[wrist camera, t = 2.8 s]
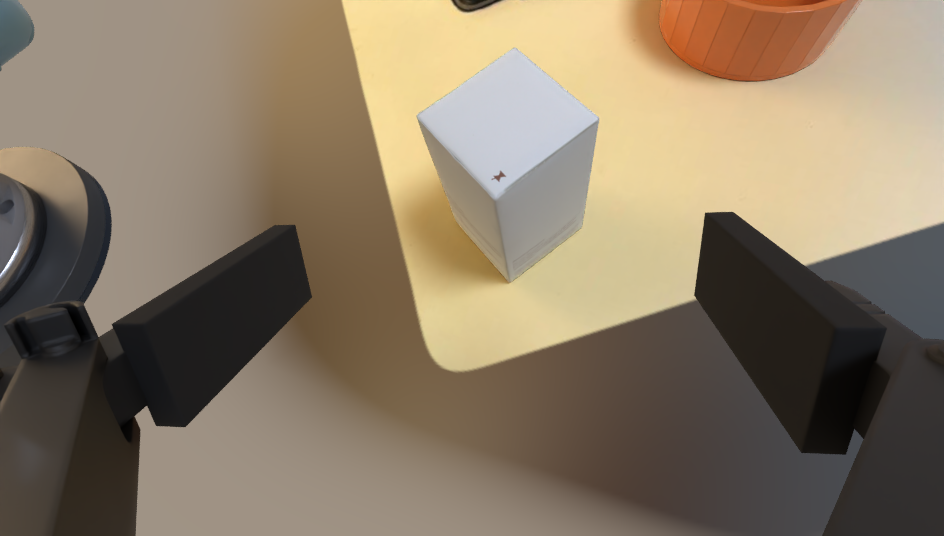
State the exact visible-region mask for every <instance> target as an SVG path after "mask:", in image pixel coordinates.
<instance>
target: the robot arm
mask: <svg viewBox="0 0 944 536" xmlns="http://www.w3.org/2000/svg"><path fill="white" fill-rule="evenodd" d="M33 37H34V25H33V22H32V20H31V18H30V16H29V14H28V13H27V11H26V10H25V9H24V8H23V6H22V5H21V4H20V3H19V2H18V0H0V71H1V66H2V65H4V64H5V63H6V62H7V61H9V60H10V59H11V58H13V57H14V56H15V55H17V54H18V53H19V52H21V51H22V50H23V49H25V48H26V47H27V46H28V45H29V44H30V43H31V42H32V40H33ZM46 229H47V216H46V210H45V207H44V204H43V202H42V200H41V198H40V197H39V195H38V194H37V193H36V192H35V191H34V190H33V189H31V188H30V187H28V186H26V185H24V184H22V183H21V182H19V181H17V180H15V179H13V178H11V177H9V176H7V175H5V174H3V173H0V308H1V307H2V306H3V305H4V304H5V303H6V302H7V301H8V300H9V299H10V298H11V297H12V296H13V295H14V294H15V293H16V292H17V290H18V289H19V288H20V287H21V285H22V284H23V283H24V281H25V280H26V278H27V277H28V276H29V274H30V272H31V271H32V269H33V267H34V265H35V264H36V262H37V260H38V257H39V255H40V253H41V250H42V247H43V244H44V240H45V236H46ZM694 296H695V297H696V298H697V300H698V301H699V303H700V304H701V306H702V307H703V309H704V310H705V312H706V313H707V314H708V316H709V318H710V319H711V320H712V322H713V323H714V325H715V326H716V328H717V329H718V330H719V332H720V334H721V335H722V337H723V338H724V340H725V341H726V343H727V344H728V346H729V347H730V348H731V350H732V351H733V353H734V354H735V356H736V357H737V359H738V360H739V362H740V363H741V365H742V366H743V367H744V369H745V370H746V372H747V373H748V375H749V376H750V378H751V379H752V381H753V382H754V384H755V385H756V387H757V388H758V390H759V391H760V393H761V394H762V395H763V397H764V399H765V400H766V401H767V403H768V404H769V406H770V407H771V409H772V410H773V412H774V413H775V415H776V416H777V418H778V419H779V421H780V422H781V424H782V425H783V426H784V428H785V429H786V431H787V432H788V434H789V435H790V437H791V438H792V440H793V441H794V443H795V444H796V446H797V447H798V449H799V450H800V451H801V453H821V454H822V453H823V454H846V452H847V449H848V446H849V443H850V440H851V437H852V434H853V431H854V429H855V430H856V431H857V432H858V433H859V434H860V435H861V437H862V438H863V439H864V440H863V442H862V445H861V447H860V449H859V452H858V454H857V456H856V458H855V461H854V463H853V466H852V468H851V470H850V472H849V475H848V477H847V479H846V482H845V484H844V486H843V489H842V491H841V493H840V496H839V498H838V500H837V503H836V505H835V507H834V510H833V512H832V514H831V517H830V519H829V521H828V524H827V526H826V528H825V531H824V533H823V535H822V536H944V340H939V339H923V338H921V337H920V336H918V335H917V334H915V333H914V332H913V331H911V330H910V329H908V328H907V327H906V326H904V325H903V324H901V323H900V322H899V321H897V320H896V319H894V318H893V317H892V316H890V315H889V314H885V311H883V310H882V309H880V308H879V307H878V306H876V305H875V304H871V301H869V300H868V299H866V298H865V297H863V296H862V295H861V294H859V293H858V292H857V291H855V290H853V289H850V288H848V287H845V286H843V285H841V284H838V283H836V282H833V281H824V280H822V279H821V278H820V277H819V276H817V275H816V274H815V273H813V272H812V271H810V270H809V269H808V268H807V267H805V266H804V265H803V264H801V263H800V262H799V261H797V260H796V259H795V258H793V257H792V256H791V255H789V254H788V253H787V252H785V251H784V250H783V249H781V248H780V247H779V246H777V245H776V244H775V243H773V242H772V241H771V240H769V239H768V238H767V237H765V236H764V235H763V234H761V233H760V232H759V231H757V230H756V229H755V228H753V227H752V226H751V225H750V224H748V223H747V222H746V221H744V220H743V219H742V218H740V217H739V216H738V215H736V214H735V213H734V212H714V213H705V219H704V226H703V234H702V241H701V249H700V257H699V264H698V272H697V279H696V287H695V294H694ZM310 298H312V295H311V291H310V287H309V282H308V278H307V274H306V269H305V265H304V261H303V257H302V252H301V248H300V244H299V239H298V236H297V232H296V226H295V225H275V226H273V227H271V228H269V229H268V230H266V231H264V232H263V233H261V234H259V235H258V236H256V237H254V238H253V239H251V240H250V241H248V242H246V243H245V244H243V245H241V246H240V247H238V248H236V249H235V250H233V251H232V252H230V253H228V254H227V255H225V256H223V257H222V258H220V259H218V260H217V261H215V262H214V263H212V264H210V265H208V266H207V267H205V268H204V269H202V270H200V271H199V272H197V273H195V274H194V275H192V276H190V277H189V278H187V279H185V280H184V281H182V282H180V283H179V284H177V285H176V286H174V287H172V288H171V289H169V290H167V291H166V292H164V293H162V294H161V295H159V296H158V297H156V298H154V299H152V300H151V301H149V302H148V303H146V304H144V305H143V306H141V307H139V308H138V309H136V310H135V311H133V312H131V313H129V314H128V315H126V316H125V317H123V318H121V319H120V320H118V321H116V322H115V323H113V324H112V326H113V329H111V330H110V331H108V332H106V333H105V334H103V335H102V336H100V337H98V335H97V333H96V331H95V329H94V326H93V324H92V322H91V320H90V318H89V316H88V313H87V311H86V309H85V307H84V304H83V302H80V301H63V302H58V303H52V304H48V305H45V306H41V307H38V308H35V309H32V310H30V311H27V312H24V313H22V314H20V315H18V316H16V317H14V318H12V319H10V320H9V321H8V322H7V323H6V324H4V327H5V329H6V331H7V333H8V335H9V336H10V338H11V340H12V342H13V344H14V346H15V348H16V349H17V351H18V353H19V355H20V357H21V359H22V360H21V362H20V364H19V365H17V366H11V367H5V368H0V536H135V533H136V512H137V511H136V510H137V491H138V469H139V468H138V467H139V448H140V447H139V446H140V428H139V426H138V423H137V421H136V419H135V417H134V416H135V415H136V414H137V413H138V412H140V411H141V410H142V409H143V408H144V407H145V406H148V408H149V411H150V413H151V415H152V418H153V420H154V422H155V424H156V426H170V427H186V426H187V425H188V424H189V423H190V422H191V421H192V420H193V419H194V418H195V417H196V416H197V415H198V414H199V412H200V411H201V410H202V409H203V408H204V407H205V406H206V405H207V404H208V403H209V402H210V401H211V400H212V399H213V398H214V397H215V396H216V395H217V394H218V393H219V392H220V391H221V390H222V389H223V388H224V387H225V386H226V385H227V384H228V383H229V382H230V381H231V380H232V379H233V378H234V377H235V376H236V375H237V374H238V372H239V371H240V370H241V369H242V368H243V367H244V366H245V365H246V364H247V363H248V362H249V361H250V360H251V359H252V358H253V357H254V356H255V355H256V354H257V353H258V352H259V351H260V350H261V349H262V348H263V347H264V346H265V345H266V344H267V343H268V342H269V340H271V339H272V337H274V336H275V335H276V333H277V332H278V331H279V330H280V329H281V328H282V327H283V326H284V325H285V324H286V323H287V322H288V321H289V320H290V319H291V318H292V317H293V316H294V315H295V314H296V313H297V312H298V311H299V310H300V309H301V308H302V307H303V305H305V304H306V303H307V302H308V301H309V300H310Z"/></svg>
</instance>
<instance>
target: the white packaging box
mask: <svg viewBox="0 0 944 536" xmlns="http://www.w3.org/2000/svg"><path fill="white" fill-rule="evenodd" d="M417 119H418V122H419V125H420V128H421V131H422V134H423V136H424V139H425V142H426V144H427V147H428V150H429V152H430V155H431V157H432V160H433V163H434V165H435V168H436V170H437V173H438V175H439V178H440V181H441V183H442V186H443V188H444V191H445V194H446V196H447V199H448V201H449V204H450V207H451V209H452V212H453V215H454V218H455V220H456V222H457V223H458V224H459V225H460V227H461V228H462V229H463V230H464V232H465V233H466V234H467V235H468V236H469V237H470V239H471V240H472V241H473V242H474V243H475V244H476V245H477V247H478V248H479V249H480V250H481V251H482V252H483V253H484V255H485V256H486V257H487V258H488V259H489V260H490V261H491V263H492V264H493V265H494V266H495V267H496V268H497V269H498V271H499V272H500V273H501V274H502V275H503V276H504V277H505V279H506V280H507V281H508V282H509V283H510V282H512V281H513V280H515V279H516V278H517V277H518V276H520V275H521V274H523V273H524V272H525V271H526V270H528V269H529V268H530V267H532V266H533V265H534V264H535V263H537V262H538V261H539V260H541V259H542V258H543V257H545V256H546V255H547V254H549V253H550V252H551V251H552V250H554V249H555V248H556V247H557V246H559V245H560V244H562V243H563V242H564V241H565V240H566V239H568V238H569V237H571V236H572V235H573V234H574V233H575V232H577V231H578V230H579V229H581V227H582V224H583V217H584V212H585V205H586V198H587V192H588V185H589V179H590V173H591V167H592V161H593V155H594V148H595V142H596V136H597V129H598V123H599V117H598V116H597V115H595V114H594V113H593V112H592V111H590V110H589V109H588V108H587V107H586V106H584V105H583V104H582V103H581V102H580V101H578V100H577V99H576V98H575V97H574V96H572V95H571V94H570V93H569V92H568V91H566V90H565V89H564V88H563V87H562V86H561V85H559V84H558V83H557V82H556V81H555V80H553V79H552V78H551V77H550V76H549V75H547V74H546V73H545V72H544V71H543V70H541V69H540V68H539V67H538V66H537V65H536V64H534V63H533V62H532V61H531V60H530V59H529V58H527V57H526V56H525V55H524V54H523V53H521V52H520V51H519V50H518V49H517V48H513V49H511V50H510V51H508V52H507V53H505V54H504V55H503V56H501V57H500V58H498V59H497V60H495V61H494V62H493V63H491V64H490V65H488V66H487V67H485V68H484V69H483V70H481V71H480V72H478V73H477V74H475V75H474V76H473V77H471V78H470V79H468V80H467V81H465V82H464V83H463V84H461V85H460V86H459V87H457V88H456V89H454V90H453V91H452V92H450V93H449V94H447V95H446V96H444V97H443V98H441V99H440V100H438V101H437V102H435V103H434V104H432V105H431V106H429V107H428V108H426V109H425V110H423V111H422V112H420V113H419V114H417Z"/></svg>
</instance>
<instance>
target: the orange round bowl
mask: <svg viewBox="0 0 944 536" xmlns="http://www.w3.org/2000/svg"><path fill="white" fill-rule="evenodd" d="M861 2H862V0H662V3H661V7H660V12H659V25H660V29H661V33H662V35H663V37H664V40H665V41H666V43H667V44H668V46H669V47H670V48H671V50H672V51H673V52H674V53H675V54H676V55H677V56H678V57H680V58H681V59H682V60H683V61H685V62H686V63H688V64H689V65H691V66H692V67H694V68H696V69H698V70H700V71H703V72H705V73H708V74H710V75H714V76H717V77H721V78H726V79H732V80H741V81H761V80H770V79H775V78H779V77H784V76H787V75H790V74H793V73H795V72H797V71H799V70H801V69H804V68H805V67H807V66H808V65H810V64H812V63H813V62H814V61H816V60H817V59H818V58H819V57H820V56H821V55H822V54H823V53H824V52H825V51H826V49H827V48H828V47H829V46H830V45H831V44H832V42H833V41H834V40H835V38H836V37H837V35H838V34H839V33H840V31H841V30H842V28H843V27H844V26H845V24H846V23H847V21H848V20H849V19H850V17H851V16H852V14H853V13H854V12H855V10H856V9H857V7H858V6H859V5H860V3H861Z"/></svg>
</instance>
